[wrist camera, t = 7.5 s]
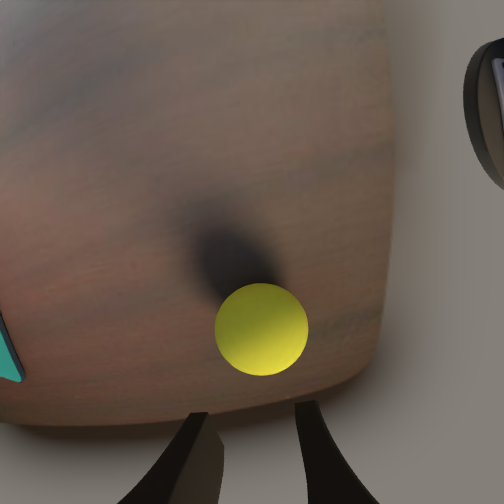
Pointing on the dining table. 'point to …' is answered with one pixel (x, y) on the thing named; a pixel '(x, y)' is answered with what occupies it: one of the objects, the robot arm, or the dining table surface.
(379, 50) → the dining table surface
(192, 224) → the dining table surface
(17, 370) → the smartphone
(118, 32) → the dining table surface
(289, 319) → the ball
